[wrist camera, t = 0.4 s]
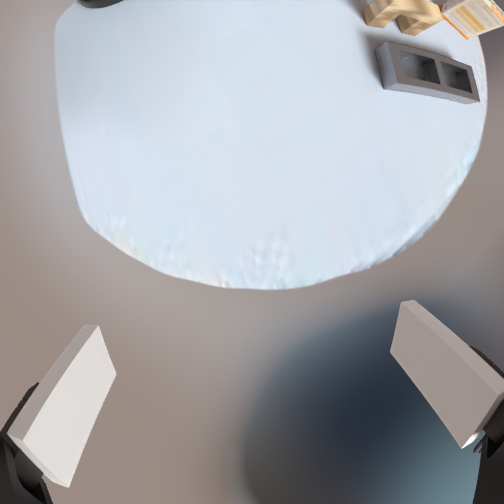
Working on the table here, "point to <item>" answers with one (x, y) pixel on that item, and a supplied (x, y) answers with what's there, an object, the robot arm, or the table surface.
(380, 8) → the clip
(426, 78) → the grey rectangular block
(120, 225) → the table surface
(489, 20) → the supplement box
